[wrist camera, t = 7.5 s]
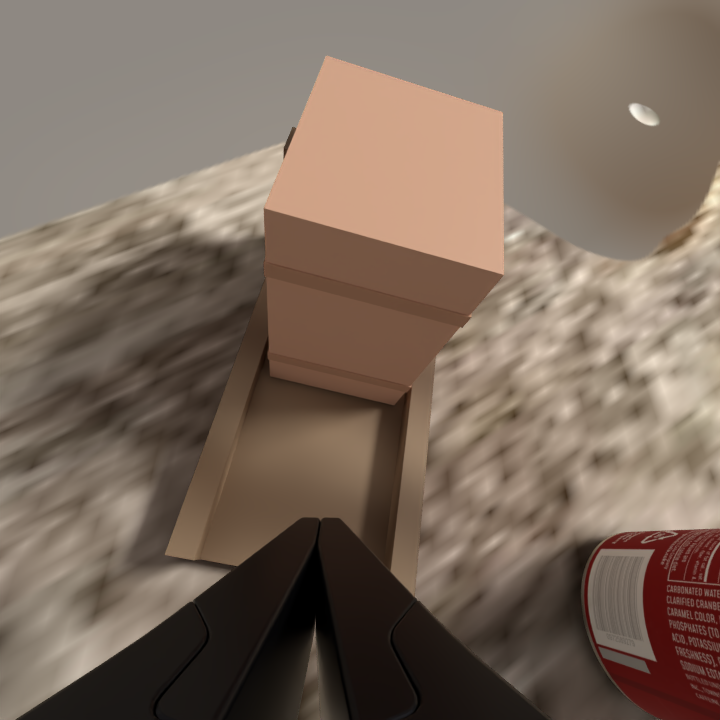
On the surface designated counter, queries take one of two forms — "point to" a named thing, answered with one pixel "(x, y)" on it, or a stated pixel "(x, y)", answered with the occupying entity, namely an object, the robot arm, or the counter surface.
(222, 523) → the bay
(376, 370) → the pink box
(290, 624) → the robot arm
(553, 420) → the counter surface
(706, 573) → the soda can
